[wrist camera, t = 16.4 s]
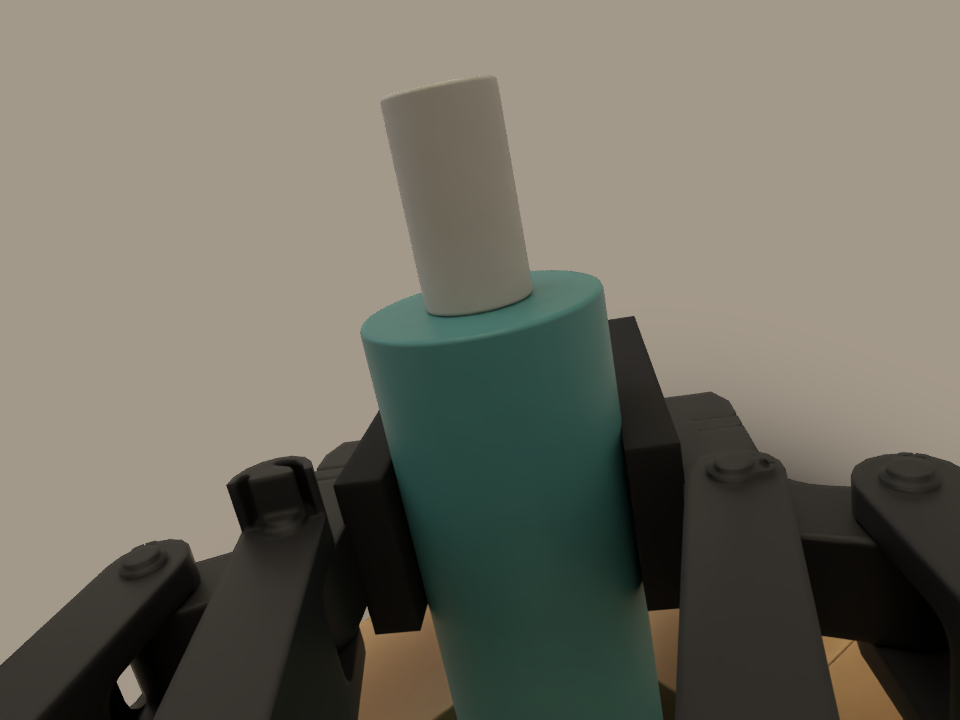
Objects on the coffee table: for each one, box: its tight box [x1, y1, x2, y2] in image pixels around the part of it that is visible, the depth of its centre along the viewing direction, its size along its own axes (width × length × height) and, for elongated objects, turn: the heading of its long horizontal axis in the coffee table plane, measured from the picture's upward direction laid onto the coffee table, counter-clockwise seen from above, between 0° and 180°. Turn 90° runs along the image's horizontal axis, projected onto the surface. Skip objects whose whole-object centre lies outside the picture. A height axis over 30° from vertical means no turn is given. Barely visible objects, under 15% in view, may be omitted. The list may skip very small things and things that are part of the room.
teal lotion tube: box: [360, 75, 663, 720], centre depth 12 cm, size 4×4×14 cm
